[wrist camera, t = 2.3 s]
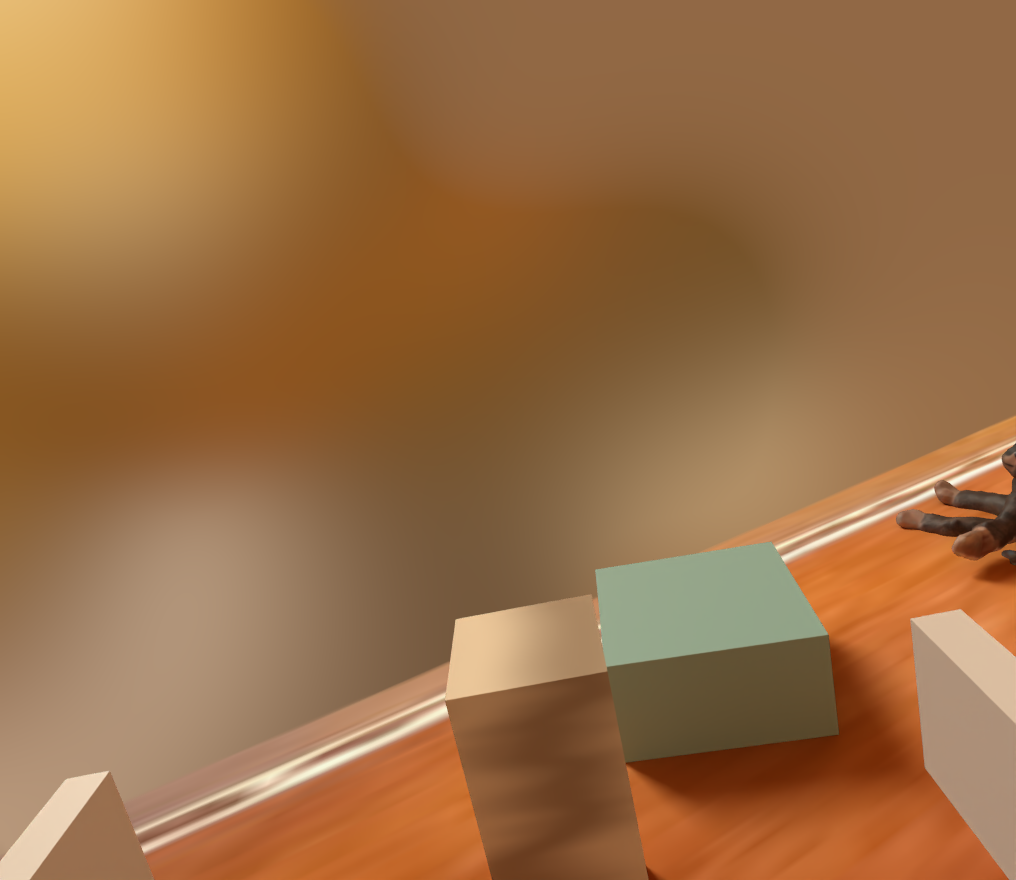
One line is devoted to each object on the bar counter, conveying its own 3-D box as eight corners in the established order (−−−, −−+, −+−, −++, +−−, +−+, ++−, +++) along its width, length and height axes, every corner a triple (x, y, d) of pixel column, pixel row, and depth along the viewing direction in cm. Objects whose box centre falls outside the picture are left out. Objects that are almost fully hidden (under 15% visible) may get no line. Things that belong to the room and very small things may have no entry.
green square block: (624, 767, 34) (604, 667, 33) (611, 653, 43) (595, 569, 41) (839, 739, 33) (828, 634, 32) (782, 628, 42) (771, 541, 40)
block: (525, 1002, 25) (445, 700, 22) (522, 884, 29) (455, 619, 26) (668, 979, 24) (607, 671, 22) (644, 864, 29) (591, 594, 26)
